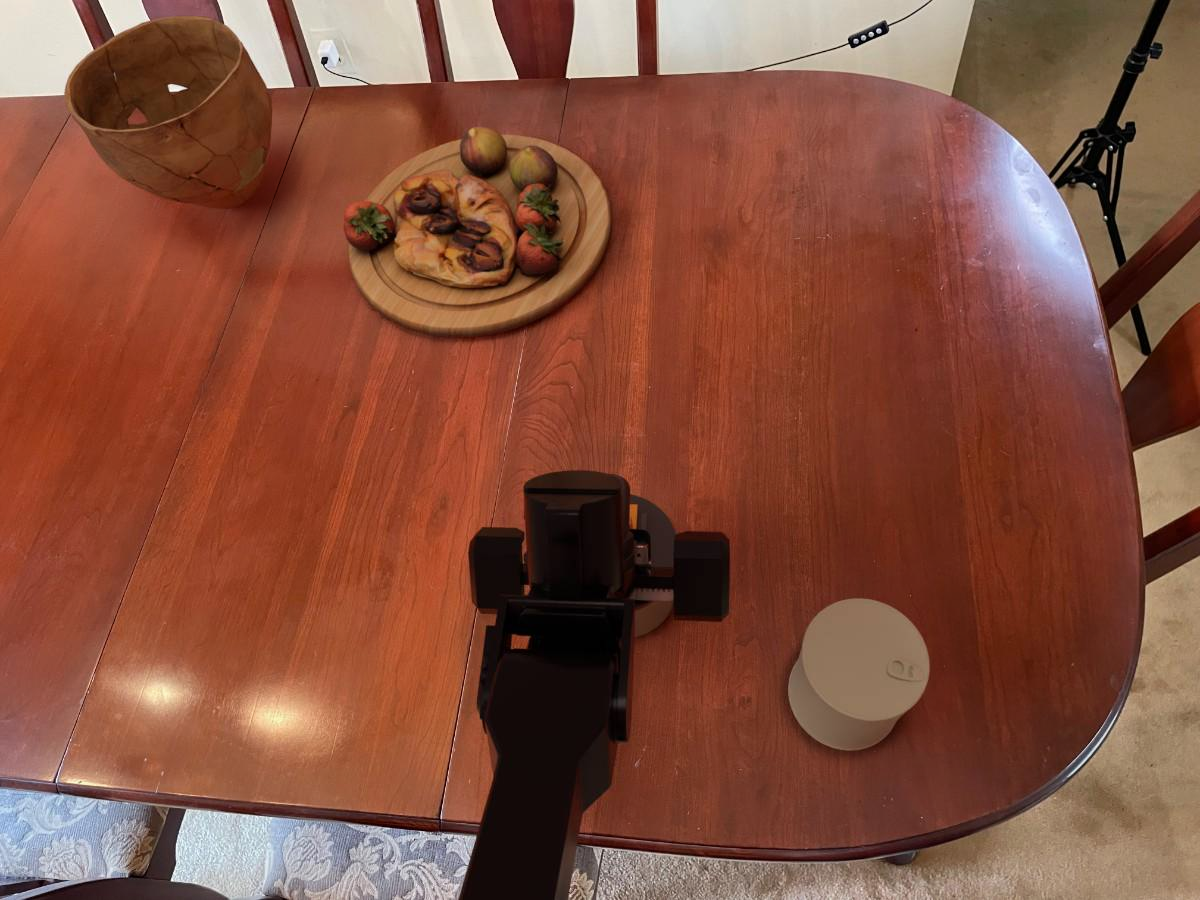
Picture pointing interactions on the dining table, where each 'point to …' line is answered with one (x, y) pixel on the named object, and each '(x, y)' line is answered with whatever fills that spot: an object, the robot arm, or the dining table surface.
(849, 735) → the can
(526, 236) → the wooden plate
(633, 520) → the slider
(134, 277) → the dining table surface
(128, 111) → the bowl
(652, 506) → the round container with rails
